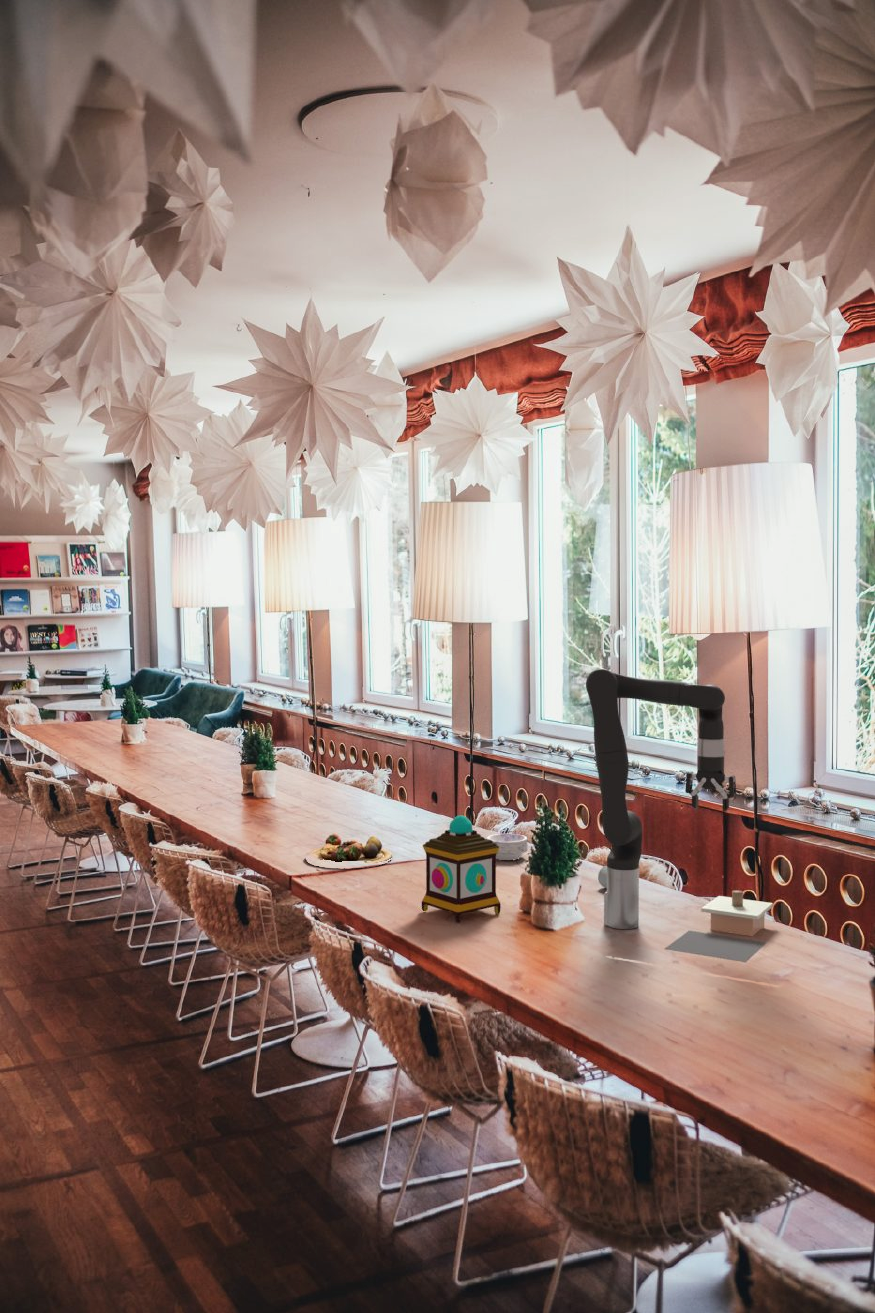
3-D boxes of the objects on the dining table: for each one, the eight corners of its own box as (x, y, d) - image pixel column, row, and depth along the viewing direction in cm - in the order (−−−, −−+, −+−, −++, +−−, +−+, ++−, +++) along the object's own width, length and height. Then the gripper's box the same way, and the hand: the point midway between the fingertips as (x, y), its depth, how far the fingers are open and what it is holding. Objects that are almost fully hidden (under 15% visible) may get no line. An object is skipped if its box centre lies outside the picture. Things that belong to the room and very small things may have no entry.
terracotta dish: (710, 931, 321) (710, 910, 321) (723, 921, 331) (723, 901, 331) (752, 938, 315) (752, 916, 315) (764, 927, 325) (764, 907, 325)
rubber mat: (664, 950, 303) (664, 948, 303) (689, 932, 320) (689, 930, 320) (745, 964, 292) (745, 962, 292) (766, 944, 309) (766, 942, 309)
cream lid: (701, 911, 320) (701, 894, 320) (718, 899, 334) (718, 882, 334) (757, 919, 312) (757, 901, 312) (772, 906, 325) (773, 889, 325)
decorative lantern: (457, 926, 327) (457, 824, 326) (414, 912, 342) (414, 814, 341) (507, 914, 340) (507, 815, 339) (464, 901, 355) (464, 806, 354)
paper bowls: (481, 861, 410) (481, 840, 410) (491, 852, 425) (491, 832, 424) (522, 864, 406) (522, 842, 405) (531, 855, 420) (531, 834, 420)
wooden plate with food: (298, 854, 425) (298, 832, 424) (380, 847, 434) (380, 826, 433) (313, 875, 394) (313, 851, 394) (401, 868, 403) (401, 845, 403)
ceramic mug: (608, 894, 363) (609, 870, 363) (597, 888, 371) (597, 865, 370) (638, 892, 366) (638, 869, 366) (626, 886, 374) (626, 863, 374)
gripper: (682, 754, 325) (682, 809, 325) (731, 757, 317) (730, 814, 318) (691, 751, 331) (690, 805, 332) (739, 754, 324) (738, 810, 324)
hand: (710, 809), depth 325 cm, fingers open, 8 cm apart
